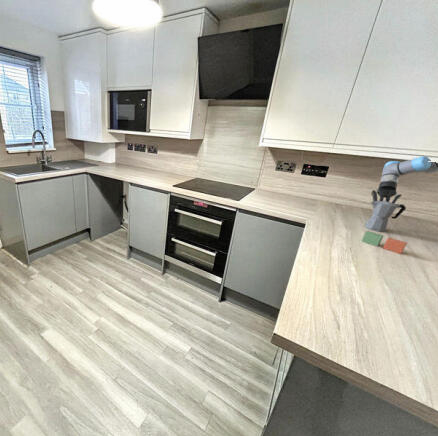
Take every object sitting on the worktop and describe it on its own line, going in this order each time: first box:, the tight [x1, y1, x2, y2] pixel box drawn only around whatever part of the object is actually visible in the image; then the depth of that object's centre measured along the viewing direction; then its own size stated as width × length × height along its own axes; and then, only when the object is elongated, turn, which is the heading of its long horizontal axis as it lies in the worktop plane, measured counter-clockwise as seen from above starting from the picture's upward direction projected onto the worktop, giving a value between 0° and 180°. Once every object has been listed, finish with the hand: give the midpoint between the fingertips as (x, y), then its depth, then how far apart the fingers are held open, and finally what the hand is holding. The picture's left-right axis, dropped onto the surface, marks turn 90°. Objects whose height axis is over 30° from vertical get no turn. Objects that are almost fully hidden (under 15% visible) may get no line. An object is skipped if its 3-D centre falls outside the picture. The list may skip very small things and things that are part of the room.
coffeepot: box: [364, 198, 407, 233], centre depth 129 cm, size 15×9×18 cm, turn 70°
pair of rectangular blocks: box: [361, 230, 408, 255], centre depth 110 cm, size 14×3×5 cm, turn 33°
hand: (380, 217), depth 134 cm, fingers closed
